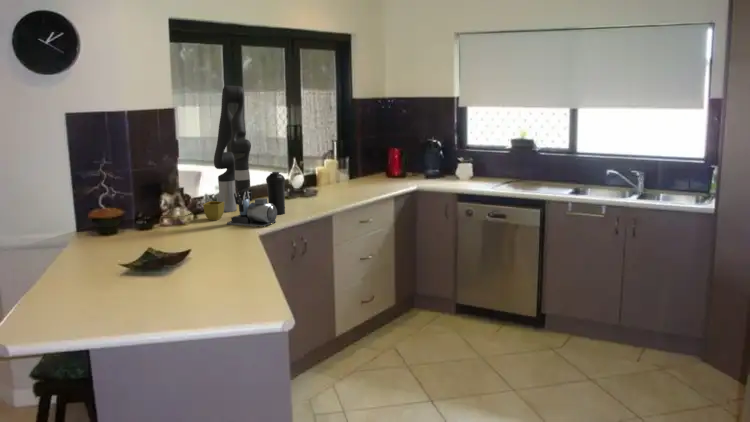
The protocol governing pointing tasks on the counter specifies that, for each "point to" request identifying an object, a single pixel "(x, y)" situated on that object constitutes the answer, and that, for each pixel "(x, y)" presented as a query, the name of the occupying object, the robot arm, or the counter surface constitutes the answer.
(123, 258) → the counter surface
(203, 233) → the counter surface
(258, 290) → the counter surface
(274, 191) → the water bottle
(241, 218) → the electric motor
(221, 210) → the flower pot
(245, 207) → the blue capped cylinder
